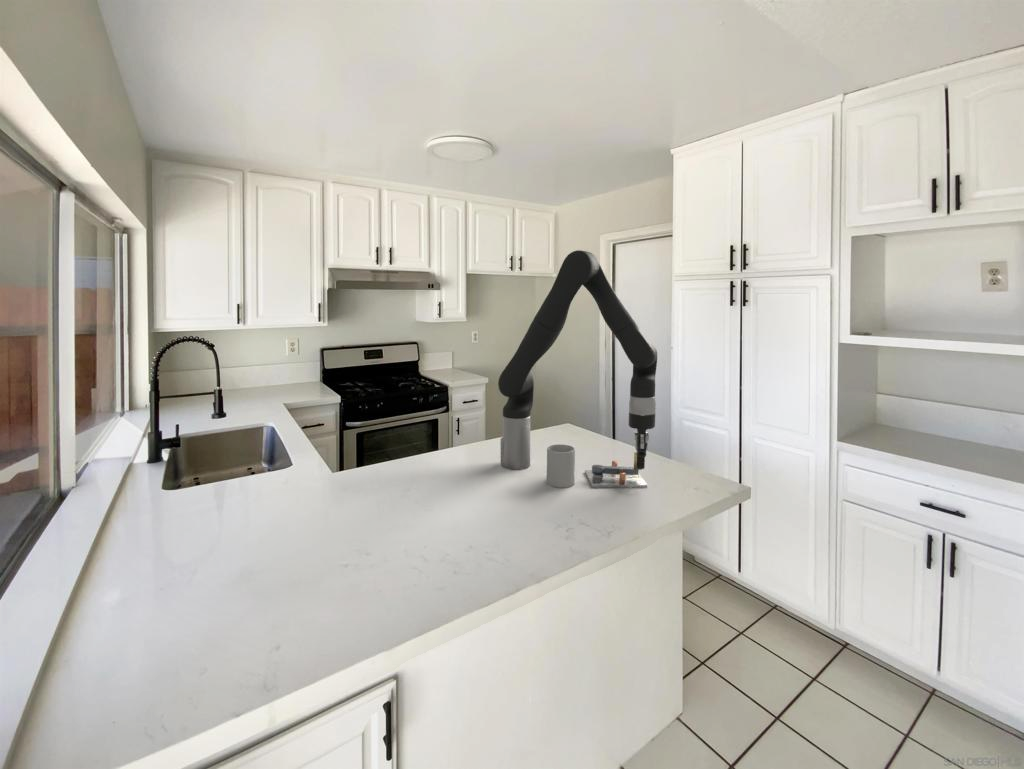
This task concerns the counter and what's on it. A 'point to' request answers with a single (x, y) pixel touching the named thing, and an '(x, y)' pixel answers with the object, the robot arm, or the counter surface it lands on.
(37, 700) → the counter surface
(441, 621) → the counter surface
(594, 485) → the crank base
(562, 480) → the mug
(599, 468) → the crank lever
